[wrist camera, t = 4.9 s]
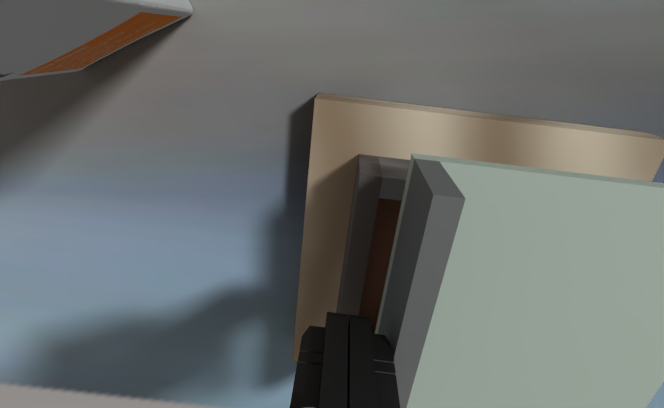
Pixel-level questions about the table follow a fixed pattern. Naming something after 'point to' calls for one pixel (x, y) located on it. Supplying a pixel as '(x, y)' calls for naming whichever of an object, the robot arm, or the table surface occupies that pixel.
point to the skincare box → (75, 32)
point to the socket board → (390, 177)
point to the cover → (525, 288)
